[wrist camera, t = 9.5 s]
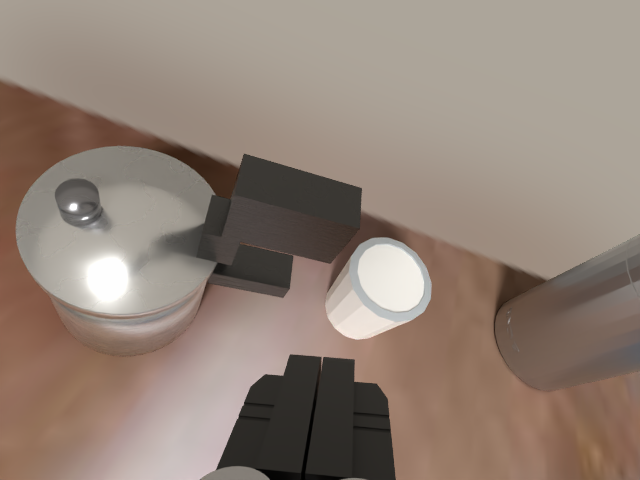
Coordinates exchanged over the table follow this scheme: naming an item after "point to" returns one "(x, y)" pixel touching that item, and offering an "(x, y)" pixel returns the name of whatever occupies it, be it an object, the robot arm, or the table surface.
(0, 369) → the table surface
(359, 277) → the white cylinder
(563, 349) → the robot arm
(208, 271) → the lid
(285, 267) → the pot
